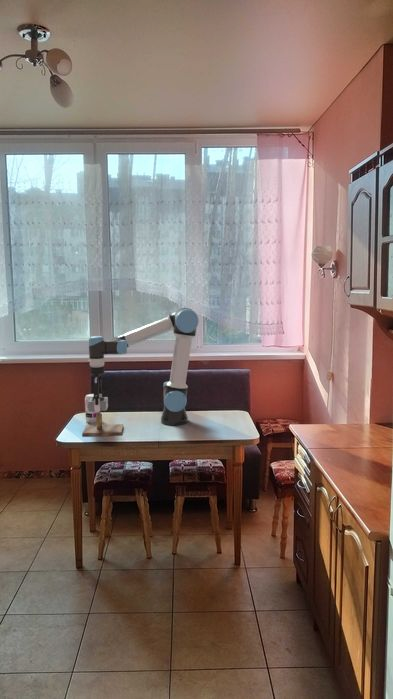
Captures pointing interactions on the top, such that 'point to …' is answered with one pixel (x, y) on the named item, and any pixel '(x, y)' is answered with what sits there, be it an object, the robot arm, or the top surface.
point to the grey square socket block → (102, 404)
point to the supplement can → (90, 414)
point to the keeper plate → (102, 428)
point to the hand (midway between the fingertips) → (98, 408)
